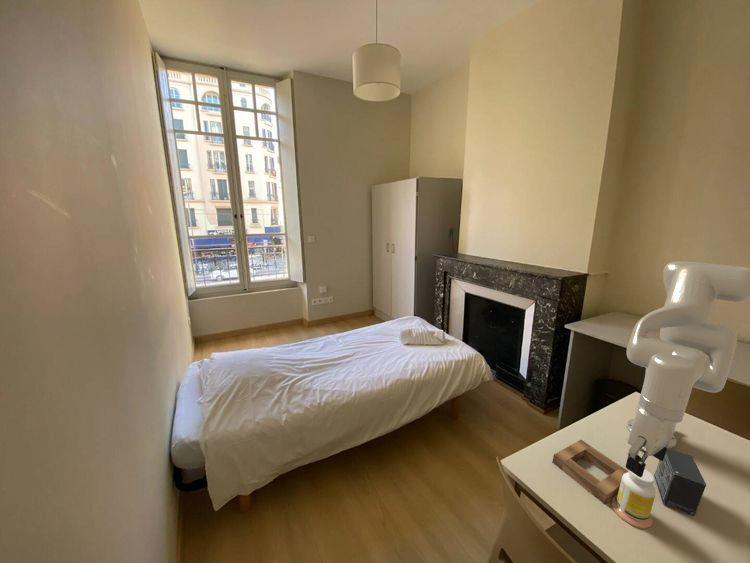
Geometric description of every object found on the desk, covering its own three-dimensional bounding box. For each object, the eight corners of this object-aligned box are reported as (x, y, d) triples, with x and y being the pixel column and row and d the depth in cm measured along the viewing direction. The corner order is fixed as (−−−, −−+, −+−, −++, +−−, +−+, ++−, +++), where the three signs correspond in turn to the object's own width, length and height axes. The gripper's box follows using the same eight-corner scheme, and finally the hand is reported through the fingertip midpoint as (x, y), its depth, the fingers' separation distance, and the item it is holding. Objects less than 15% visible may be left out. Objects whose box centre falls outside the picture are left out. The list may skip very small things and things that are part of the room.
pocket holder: (579, 447, 97) (581, 439, 97) (631, 483, 85) (634, 475, 84) (552, 462, 92) (553, 454, 91) (604, 503, 79) (606, 495, 78)
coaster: (621, 492, 82) (622, 491, 82) (658, 519, 75) (658, 517, 75) (604, 505, 79) (605, 503, 79) (641, 534, 72) (641, 532, 72)
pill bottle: (655, 524, 73) (666, 487, 70) (625, 519, 75) (635, 483, 72) (638, 499, 80) (648, 464, 77) (610, 495, 81) (619, 460, 78)
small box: (697, 518, 75) (709, 486, 73) (662, 505, 79) (672, 473, 76) (683, 485, 84) (693, 455, 81) (653, 474, 87) (661, 445, 85)
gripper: (659, 386, 75) (644, 440, 80) (621, 408, 68) (607, 466, 73) (700, 403, 69) (681, 461, 74) (662, 430, 62) (644, 492, 67)
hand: (644, 464), depth 74 cm, fingers open, 9 cm apart
